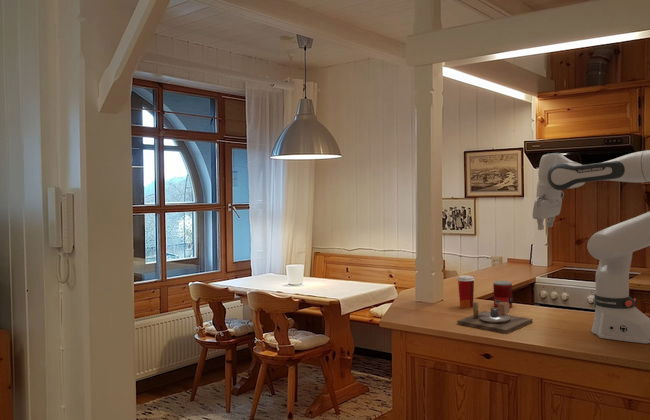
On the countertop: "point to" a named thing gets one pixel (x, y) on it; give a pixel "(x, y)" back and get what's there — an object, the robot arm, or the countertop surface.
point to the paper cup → (466, 291)
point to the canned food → (502, 292)
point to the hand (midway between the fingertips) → (545, 228)
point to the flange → (497, 314)
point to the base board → (496, 327)
